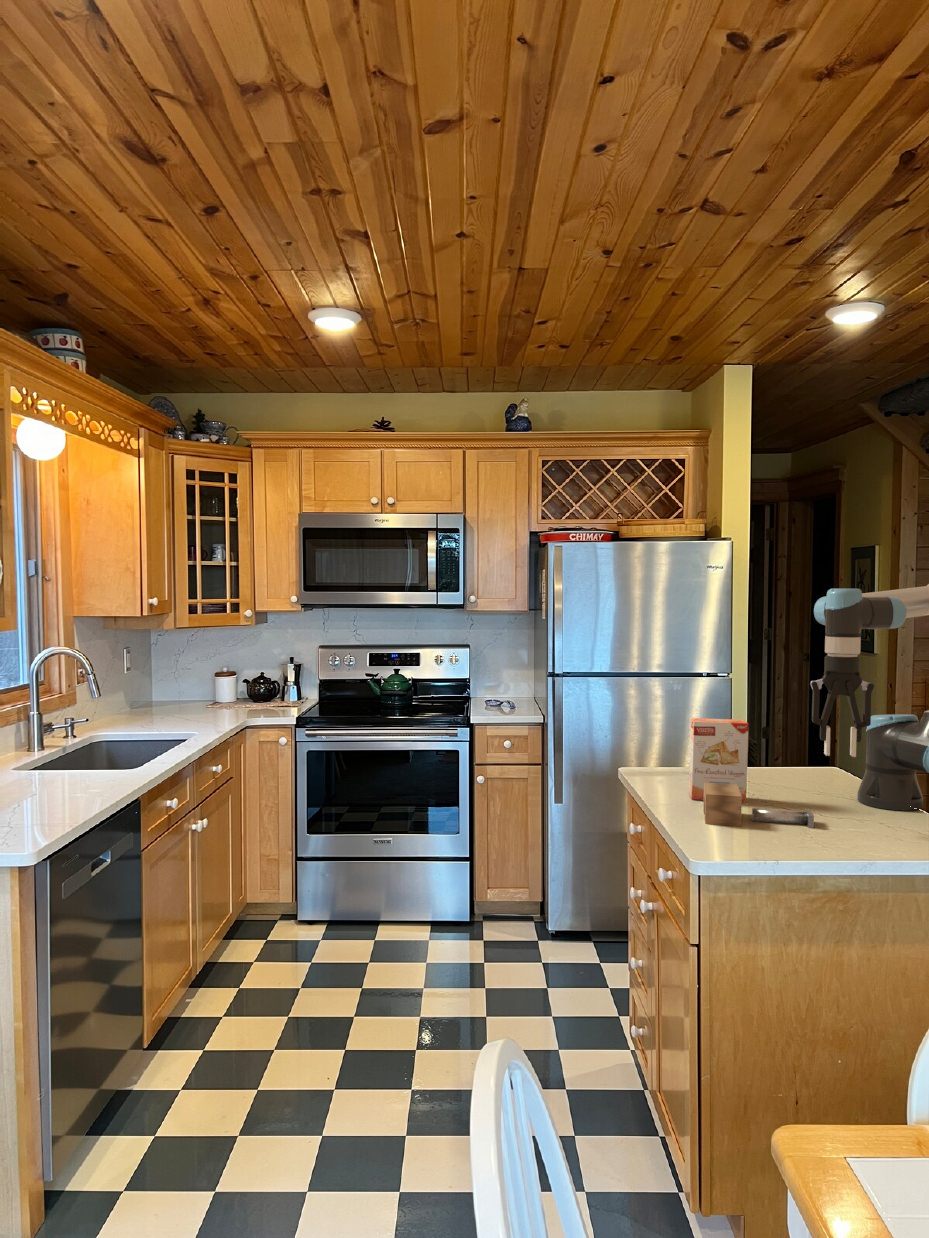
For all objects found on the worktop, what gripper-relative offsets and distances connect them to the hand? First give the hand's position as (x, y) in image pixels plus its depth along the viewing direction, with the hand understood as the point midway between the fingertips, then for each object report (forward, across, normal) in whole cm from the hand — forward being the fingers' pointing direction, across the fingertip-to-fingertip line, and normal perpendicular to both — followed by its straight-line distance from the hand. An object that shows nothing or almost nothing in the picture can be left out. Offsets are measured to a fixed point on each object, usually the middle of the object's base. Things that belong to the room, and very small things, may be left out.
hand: (839, 754), depth 194 cm
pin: (+17, +13, 0) cm, 21 cm away
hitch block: (+17, +26, 0) cm, 31 cm away
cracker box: (+17, +26, -19) cm, 36 cm away
